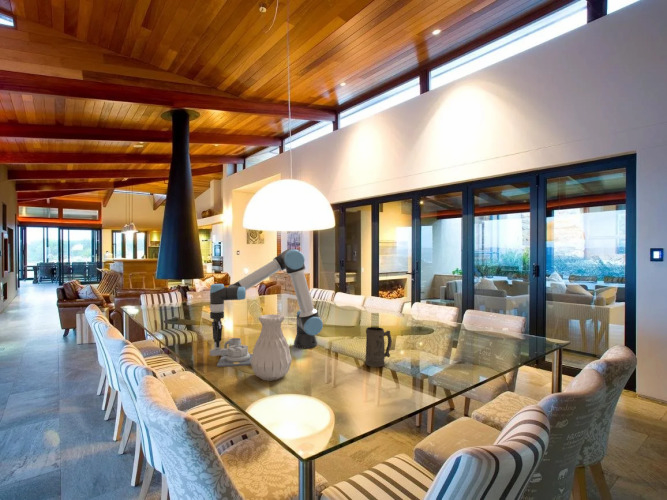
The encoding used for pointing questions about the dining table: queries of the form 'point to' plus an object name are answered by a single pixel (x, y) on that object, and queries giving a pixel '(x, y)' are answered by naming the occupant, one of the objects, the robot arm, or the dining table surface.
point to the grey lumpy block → (230, 351)
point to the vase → (271, 350)
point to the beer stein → (376, 346)
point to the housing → (235, 360)
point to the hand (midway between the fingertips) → (217, 352)
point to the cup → (233, 342)
